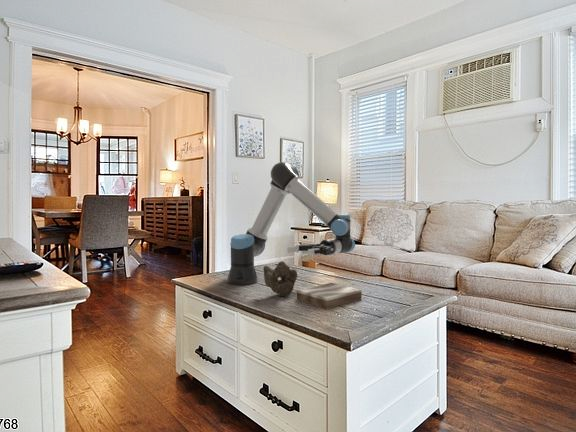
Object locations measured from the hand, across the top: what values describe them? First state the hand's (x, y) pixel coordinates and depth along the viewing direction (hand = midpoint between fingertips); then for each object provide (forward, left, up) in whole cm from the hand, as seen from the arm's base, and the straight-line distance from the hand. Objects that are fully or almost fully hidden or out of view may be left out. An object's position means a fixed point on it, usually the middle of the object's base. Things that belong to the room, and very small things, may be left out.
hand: (297, 251), depth 164 cm
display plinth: (+18, +1, -18) cm, 26 cm away
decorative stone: (-1, -10, -18) cm, 21 cm away
